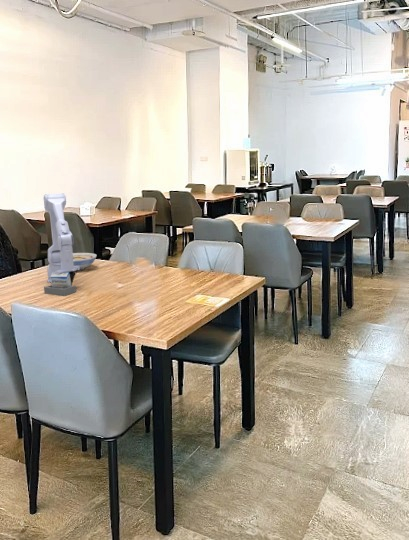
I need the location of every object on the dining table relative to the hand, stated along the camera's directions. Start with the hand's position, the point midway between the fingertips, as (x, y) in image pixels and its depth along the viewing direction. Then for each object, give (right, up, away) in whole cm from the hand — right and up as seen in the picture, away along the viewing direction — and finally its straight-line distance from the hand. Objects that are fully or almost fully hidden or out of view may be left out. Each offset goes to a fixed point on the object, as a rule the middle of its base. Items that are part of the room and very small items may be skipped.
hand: (69, 287), depth 249 cm
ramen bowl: (-8, +9, +47) cm, 48 cm away
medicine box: (-2, -1, -3) cm, 4 cm away
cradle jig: (-3, -2, -5) cm, 6 cm away
